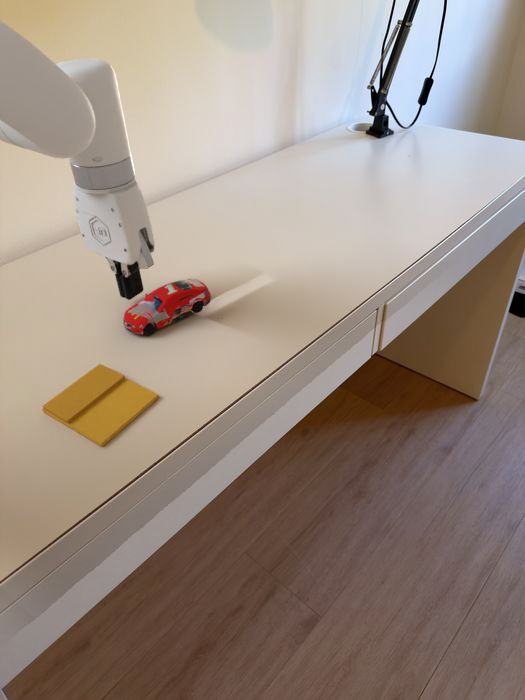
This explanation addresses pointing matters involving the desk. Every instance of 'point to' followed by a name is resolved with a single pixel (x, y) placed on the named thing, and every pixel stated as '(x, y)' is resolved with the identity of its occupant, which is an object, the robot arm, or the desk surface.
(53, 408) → the rag
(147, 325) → the race car
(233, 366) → the desk surface
